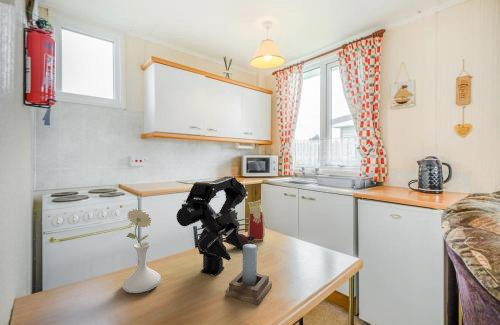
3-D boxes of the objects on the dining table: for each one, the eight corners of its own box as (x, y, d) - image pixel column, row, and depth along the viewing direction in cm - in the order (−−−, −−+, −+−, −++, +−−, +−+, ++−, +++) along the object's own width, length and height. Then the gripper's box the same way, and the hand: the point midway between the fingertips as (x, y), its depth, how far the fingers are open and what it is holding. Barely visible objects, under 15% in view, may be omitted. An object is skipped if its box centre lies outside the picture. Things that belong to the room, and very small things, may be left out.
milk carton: (264, 235, 128) (265, 198, 128) (264, 241, 119) (264, 201, 119) (248, 234, 129) (248, 197, 129) (246, 240, 120) (246, 201, 120)
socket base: (225, 295, 72) (225, 283, 72) (241, 278, 82) (241, 268, 82) (258, 304, 68) (258, 292, 68) (271, 286, 78) (271, 275, 77)
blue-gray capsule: (239, 287, 74) (240, 247, 74) (246, 280, 78) (246, 243, 78) (252, 290, 72) (253, 250, 72) (258, 284, 76) (259, 245, 76)
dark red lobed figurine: (224, 238, 104) (257, 239, 107) (223, 229, 111) (254, 230, 114) (222, 252, 106) (255, 252, 109) (221, 242, 113) (251, 243, 116)
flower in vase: (168, 283, 79) (168, 208, 78) (137, 301, 69) (136, 216, 68) (143, 273, 85) (143, 204, 85) (111, 288, 76) (111, 210, 75)
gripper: (207, 206, 70) (240, 249, 66) (235, 197, 88) (263, 231, 83) (185, 229, 74) (215, 272, 69) (216, 216, 91) (242, 250, 87)
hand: (236, 254), depth 77 cm, fingers open, 9 cm apart
